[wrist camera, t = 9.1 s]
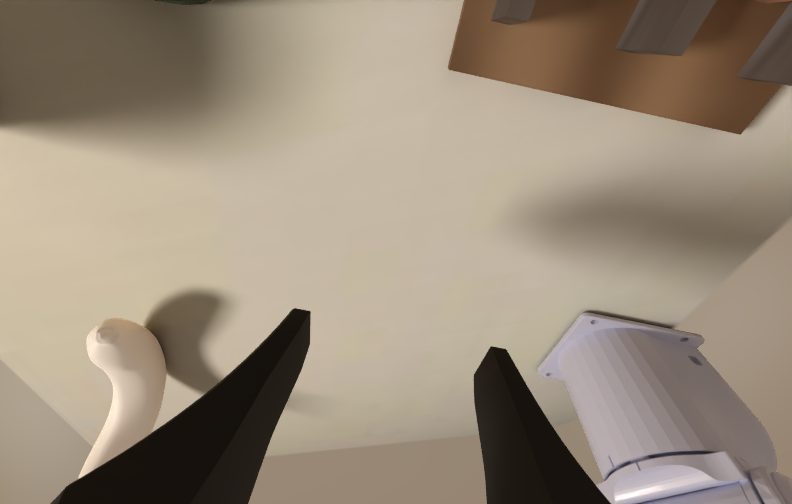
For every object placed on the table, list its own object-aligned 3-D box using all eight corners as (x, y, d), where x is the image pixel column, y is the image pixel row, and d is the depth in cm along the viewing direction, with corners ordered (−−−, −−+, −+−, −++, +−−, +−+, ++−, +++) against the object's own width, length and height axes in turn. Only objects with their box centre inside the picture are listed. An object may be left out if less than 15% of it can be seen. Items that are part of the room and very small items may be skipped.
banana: (167, 289, 25) (-64, 510, 13) (193, 398, 36) (79, 574, 24) (107, 273, 25) (-187, 488, 13) (152, 389, 36) (14, 563, 24)
